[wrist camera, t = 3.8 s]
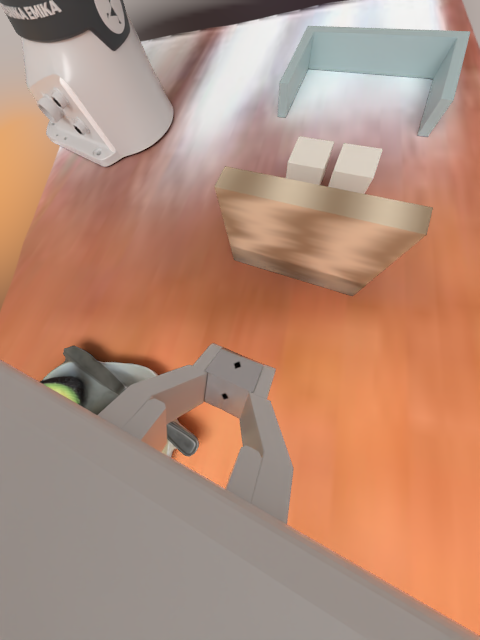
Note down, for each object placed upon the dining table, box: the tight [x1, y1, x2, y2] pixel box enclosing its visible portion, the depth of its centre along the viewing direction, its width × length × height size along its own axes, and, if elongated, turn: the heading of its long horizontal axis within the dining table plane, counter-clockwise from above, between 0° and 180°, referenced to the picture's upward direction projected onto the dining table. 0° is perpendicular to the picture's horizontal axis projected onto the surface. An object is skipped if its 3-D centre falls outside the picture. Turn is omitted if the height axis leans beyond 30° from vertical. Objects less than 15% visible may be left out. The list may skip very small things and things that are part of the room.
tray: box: [278, 26, 470, 137], centre depth 26 cm, size 20×12×4 cm, turn 68°
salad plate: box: [40, 346, 199, 457], centre depth 18 cm, size 19×18×5 cm
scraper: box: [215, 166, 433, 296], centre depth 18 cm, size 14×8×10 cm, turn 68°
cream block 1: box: [286, 136, 334, 185], centre depth 23 cm, size 4×4×4 cm
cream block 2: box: [328, 143, 383, 194], centre depth 22 cm, size 4×4×4 cm
